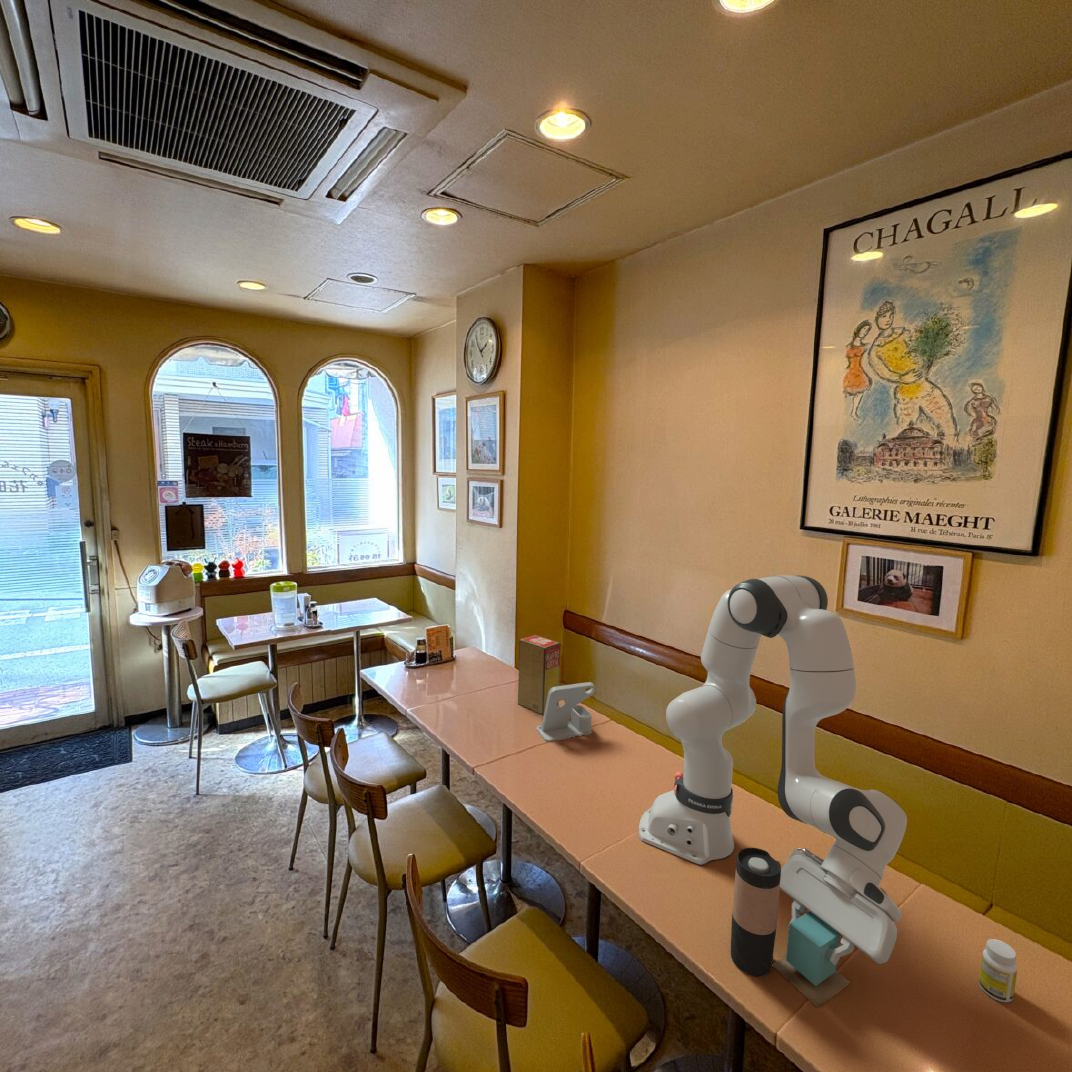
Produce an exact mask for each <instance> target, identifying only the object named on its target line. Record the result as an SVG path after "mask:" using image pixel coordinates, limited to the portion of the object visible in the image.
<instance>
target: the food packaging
mask: <svg viewBox="0 0 1072 1072" xmlns="http://www.w3.org/2000/svg"><path fill="white" fill-rule="evenodd" d="M518 642H519V644H518V645H519V647H518V648H519V649H518V652H519V653H518V685H517V686H518V689H517V690H518V691H517V705H519V706H521V707H524V708H525V709H528V710H530V711H532V712H535V713H536V714H540V715H541V716H544V712H545V707H546V702H547V697H548V692H549V690H550V689H551V688H553V687H556V686H560V671H561V669H560V668H561V645H562V643H561V642H560V641H555V640H553V639H552V640H551V639H549V638H546V637H543V636H539V635H536V634H533V635H531V636H527V637H522V638H520V639H519V641H518ZM559 702H560V701H559ZM559 702H558V703H557V706H559V705H560V704H559Z"/></svg>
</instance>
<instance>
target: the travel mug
mask: <svg viewBox="0 0 1072 1072" xmlns="http://www.w3.org/2000/svg"><path fill="white" fill-rule="evenodd" d="M781 869H782V865H781V863H780V861H779V860H775V859H774V858H773V857H772V855H771V854H770V853H769V852H768V851H766V850H765V849H761V848H758V847H745V848H742V849H740V850H739V851H738V852H737V855H736V865H735V873H734V874H735V876H734V886H733V898H732V906H731V907H732V908H731V909H732V910H731V926H730V927H731V928H730V929H731V930H730V931H731V932H730V957H731V961H732V963H733V964H734V966H736V968H738V970H740V971H741V972H743V973H744V974H746V975H748V976H752V977H755V978H757V977H758V978H759V977H760V978H762V977H766V976H767V975H768V974H769V973H770V972H771V969H772V964H773V958H774V957H773V956H774V951H775V950H774V949H775V943H776V935H777V927H778V926H777V925H778V917H779V916H778V915H779V912H778V911H779V902H780V890H781V889H780V878H781Z"/></svg>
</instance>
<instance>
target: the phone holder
mask: <svg viewBox="0 0 1072 1072" xmlns="http://www.w3.org/2000/svg"><path fill="white" fill-rule="evenodd" d="M588 688H590V689H588ZM587 689H588V690H587ZM595 691H596V686H595V684H594V683H593V682H592V681H589V682H587V681H586V682H580V683H573V684H565V685H559V686H556V687H553V688H551V689H550V690H549V692H548V697H547V702H546V707H545V712H544V715H543V718H542V720H541V721H542V722H541V725H537V726H536V729H535V730H536V731H537V733H538V734H539V735H540V737H541V738H542V737H543V738H542V739H543V741H545V742H548V743H549V742H550V743H551V742H555V741H560V740H561V741H562V740H567V738H568V739H572V738H571V737H573V738H576V737H575V736H579V737H581V736H580V735H585V736H590V735H592V734H593V731H592V718H593V716H592V713H591V712H590V711H589V710H587V709H586V708H585V707H584V706H583V705H579V704H580V703H582V702H584V701H585V700H587V699H589V698H590V697H591V696H593V695H594V694H595ZM561 701H564V703H562V705H561V706H559V705H558V706H557V703H558V702H561ZM591 733H592V734H591Z"/></svg>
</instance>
